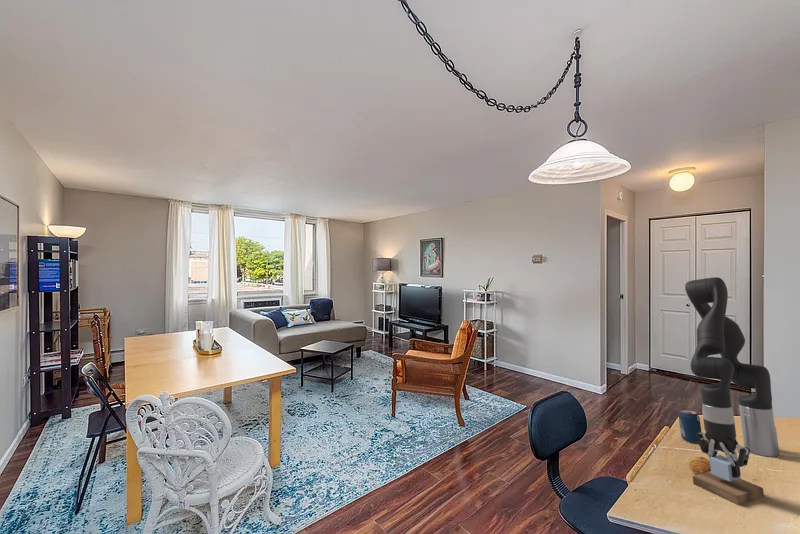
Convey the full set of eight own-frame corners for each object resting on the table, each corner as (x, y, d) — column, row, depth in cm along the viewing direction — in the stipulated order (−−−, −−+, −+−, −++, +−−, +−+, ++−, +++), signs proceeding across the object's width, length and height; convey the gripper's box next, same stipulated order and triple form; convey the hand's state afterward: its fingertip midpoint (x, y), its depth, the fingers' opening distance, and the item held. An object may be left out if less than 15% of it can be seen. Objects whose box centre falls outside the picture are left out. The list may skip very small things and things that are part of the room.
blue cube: (721, 470, 111) (719, 455, 112) (740, 478, 107) (738, 461, 107) (711, 473, 110) (709, 457, 110) (729, 481, 105) (727, 464, 106)
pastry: (713, 480, 114) (712, 469, 114) (687, 474, 118) (686, 462, 119) (715, 469, 120) (713, 458, 120) (690, 463, 125) (689, 453, 125)
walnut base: (718, 478, 115) (717, 469, 116) (764, 498, 104) (762, 487, 104) (693, 485, 112) (692, 476, 112) (738, 506, 100) (736, 496, 101)
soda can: (706, 441, 140) (702, 412, 141) (696, 445, 138) (693, 415, 139) (687, 435, 147) (683, 407, 148) (677, 439, 144) (674, 410, 145)
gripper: (754, 424, 104) (761, 482, 103) (701, 410, 118) (708, 460, 116) (737, 428, 102) (745, 487, 100) (686, 413, 116) (692, 464, 114)
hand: (725, 472), depth 108 cm, fingers closed on blue cube, 4 cm apart
